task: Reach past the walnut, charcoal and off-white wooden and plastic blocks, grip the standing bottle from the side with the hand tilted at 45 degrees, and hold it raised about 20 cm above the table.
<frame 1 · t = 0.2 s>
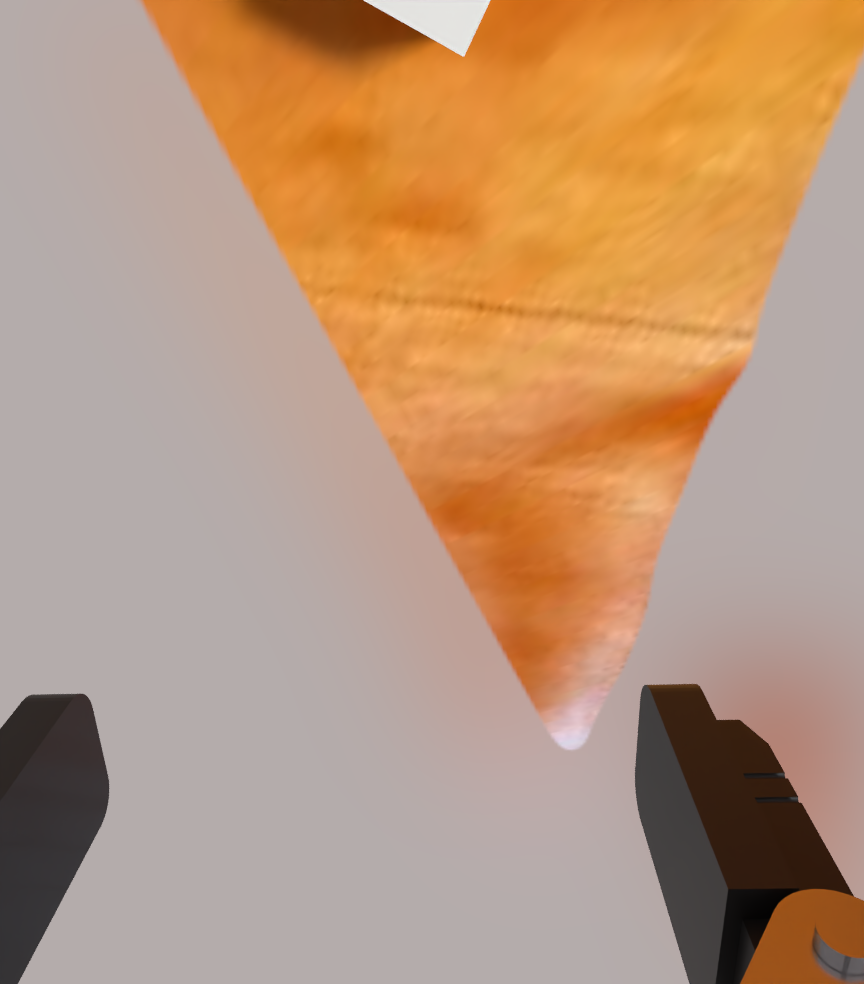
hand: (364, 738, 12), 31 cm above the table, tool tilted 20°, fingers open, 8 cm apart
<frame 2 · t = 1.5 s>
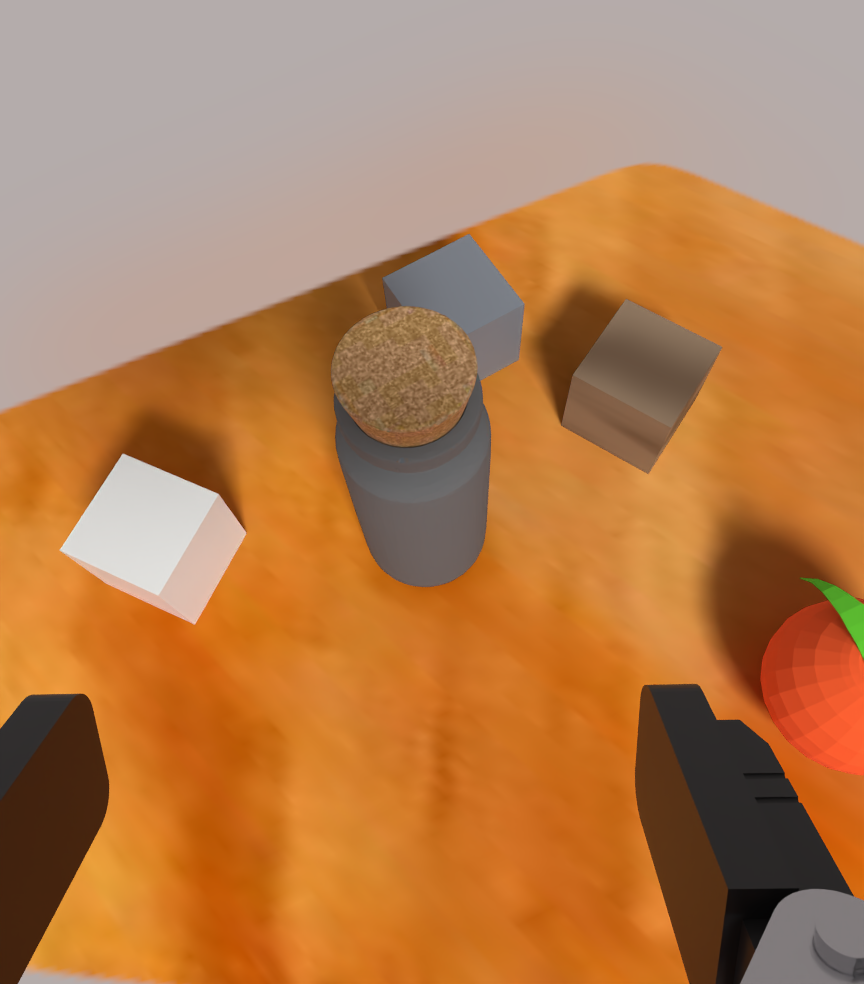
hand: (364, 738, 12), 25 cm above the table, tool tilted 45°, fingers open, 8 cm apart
offwhite block: (177, 558, 40), on the table
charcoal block: (454, 348, 44), on the table
bottle: (426, 532, 40), on the table
walnut block: (627, 413, 42), on the table
peach: (810, 687, 36), on the table
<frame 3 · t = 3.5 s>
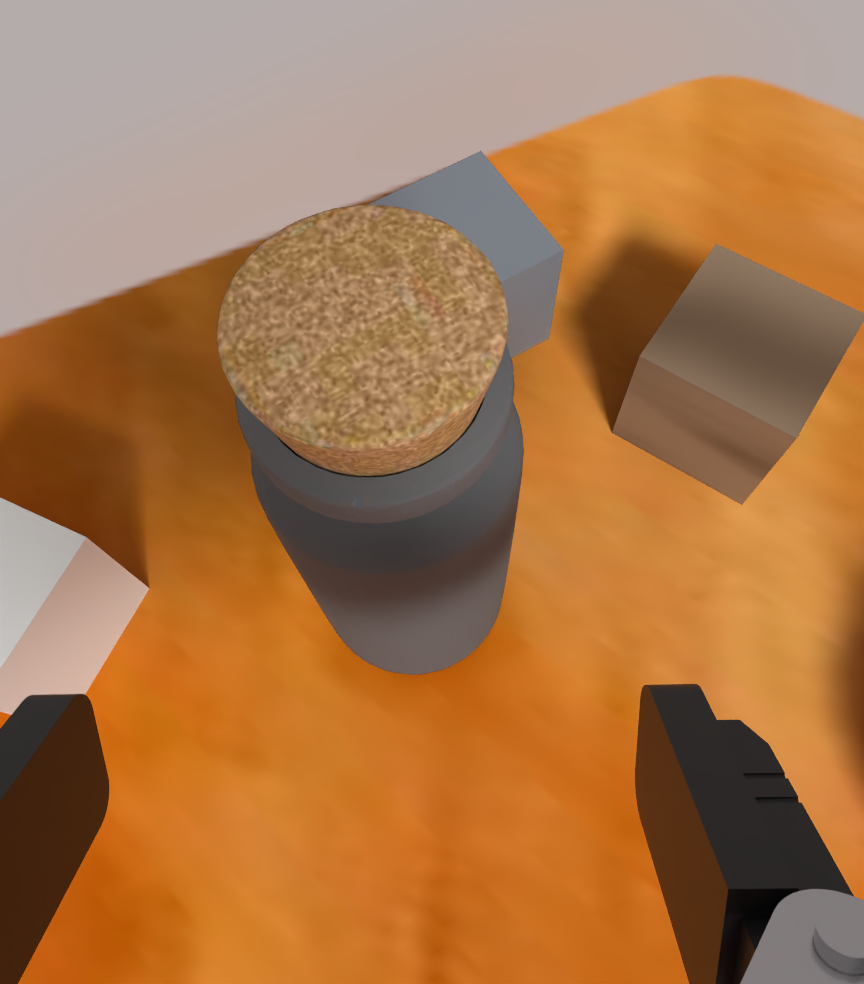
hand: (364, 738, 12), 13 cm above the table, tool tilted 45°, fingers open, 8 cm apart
offwhite block: (45, 626, 27), on the table
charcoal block: (457, 321, 31), on the table
bottle: (414, 589, 27), on the table
walnut block: (707, 415, 29), on the table
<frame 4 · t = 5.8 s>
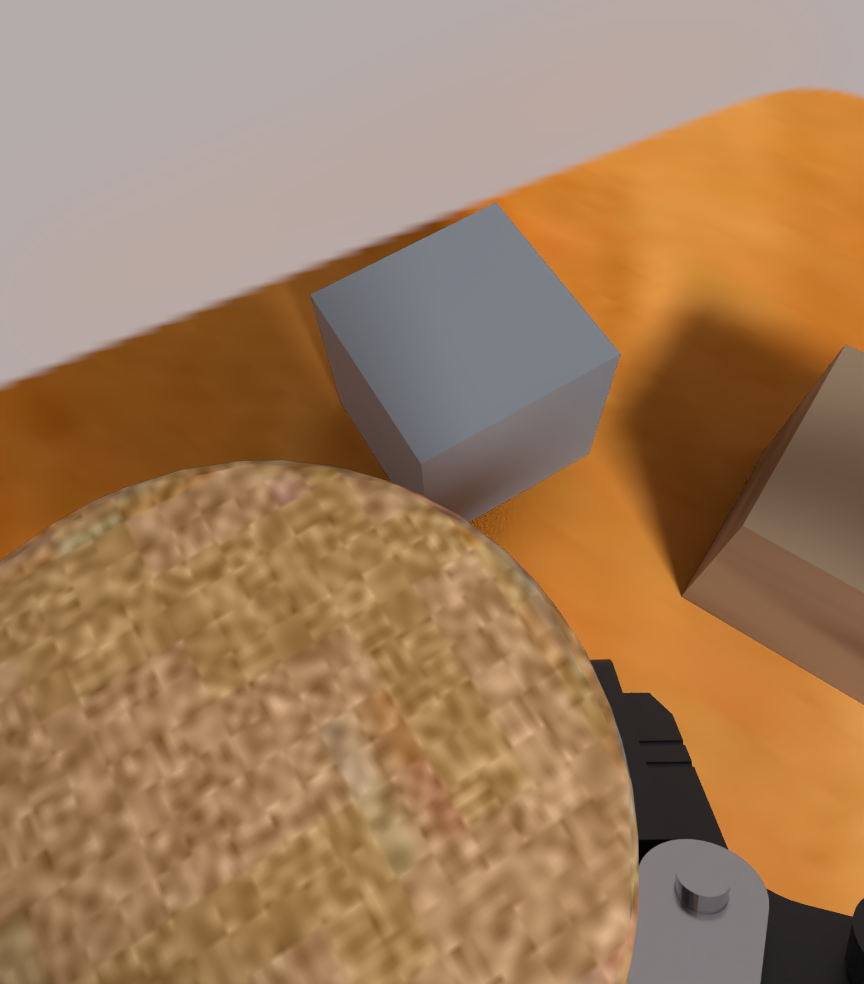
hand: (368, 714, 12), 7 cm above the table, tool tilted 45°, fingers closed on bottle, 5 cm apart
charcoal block: (462, 428, 23), on the table
bottle: (402, 840, 19), on the table, touching gripper
walnut block: (815, 570, 21), on the table
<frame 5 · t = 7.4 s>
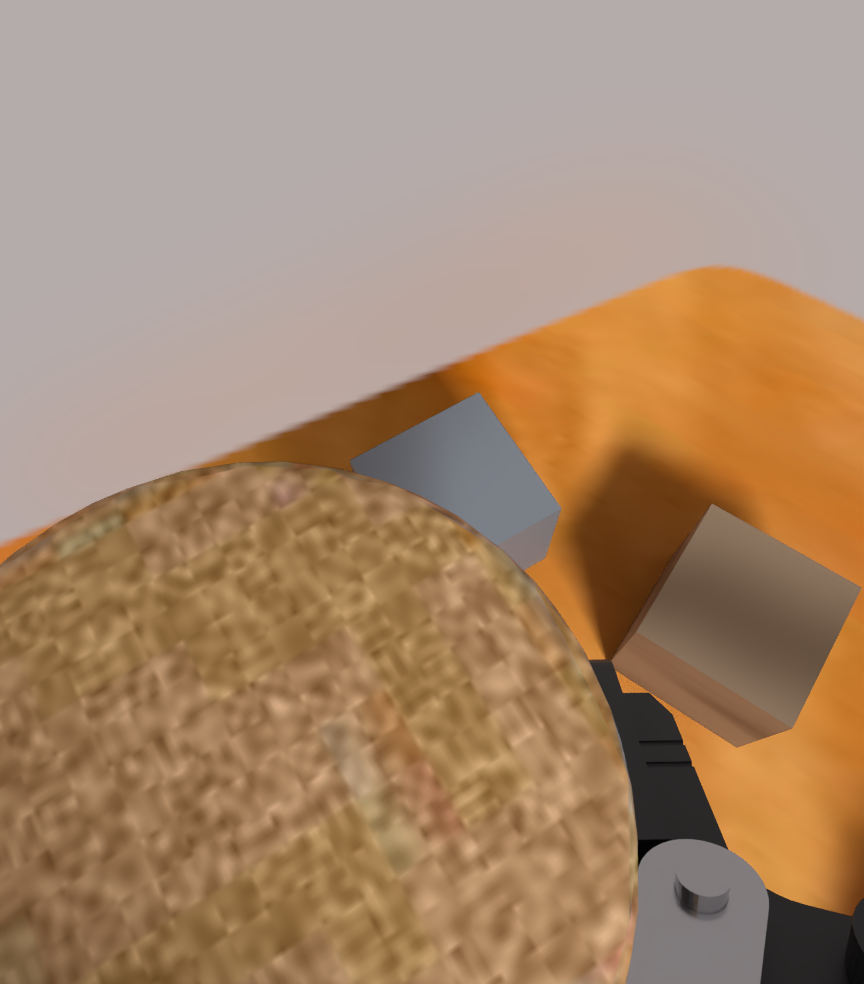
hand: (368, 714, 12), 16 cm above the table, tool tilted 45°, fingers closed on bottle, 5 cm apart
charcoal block: (453, 537, 31), on the table
bottle: (402, 840, 19), point 9 cm above the table, touching gripper
walnut block: (703, 646, 29), on the table
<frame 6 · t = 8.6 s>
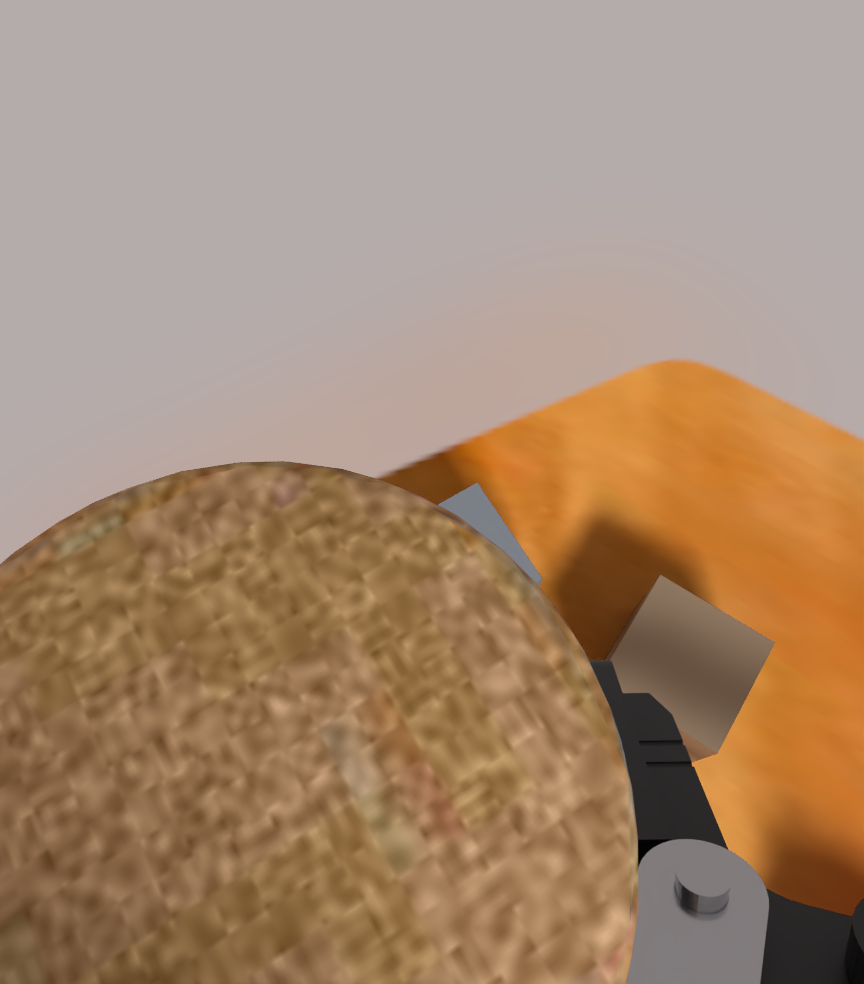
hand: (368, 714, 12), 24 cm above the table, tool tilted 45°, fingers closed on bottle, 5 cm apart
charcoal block: (457, 592, 38), on the table
bottle: (402, 840, 19), point 17 cm above the table, touching gripper
walnut block: (658, 683, 36), on the table
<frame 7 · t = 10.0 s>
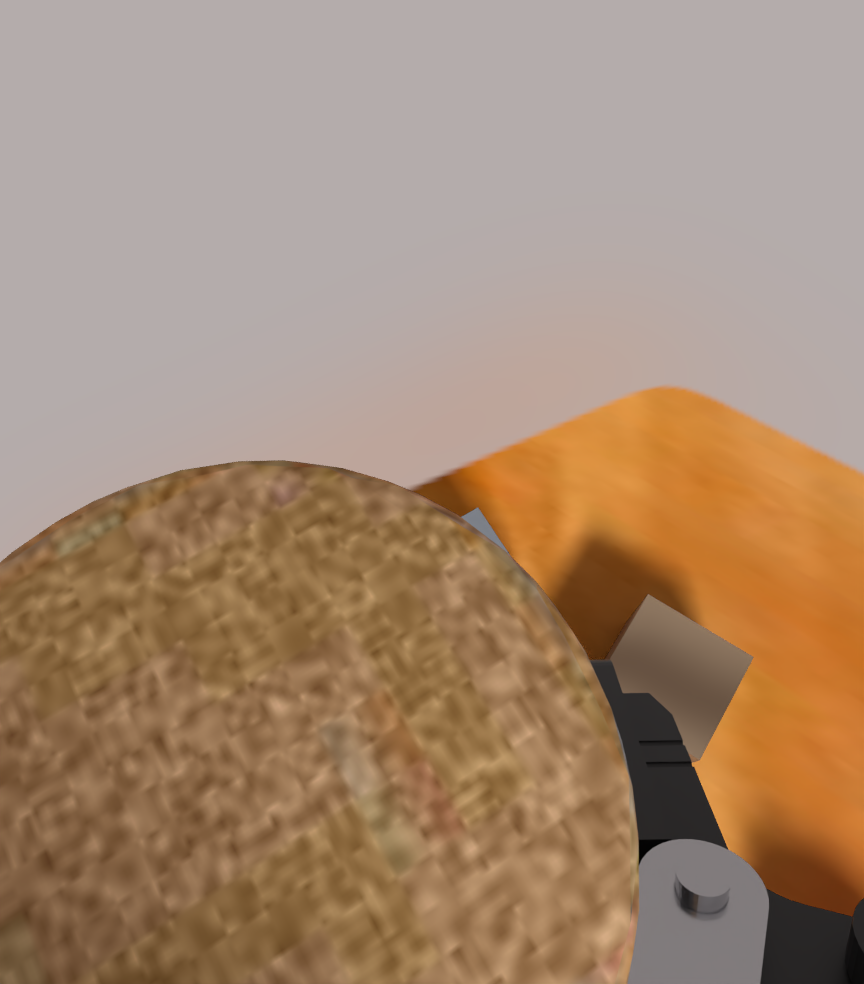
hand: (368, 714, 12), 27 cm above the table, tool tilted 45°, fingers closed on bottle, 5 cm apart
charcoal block: (460, 608, 41), on the table
bottle: (402, 840, 19), point 20 cm above the table, touching gripper
walnut block: (647, 693, 39), on the table
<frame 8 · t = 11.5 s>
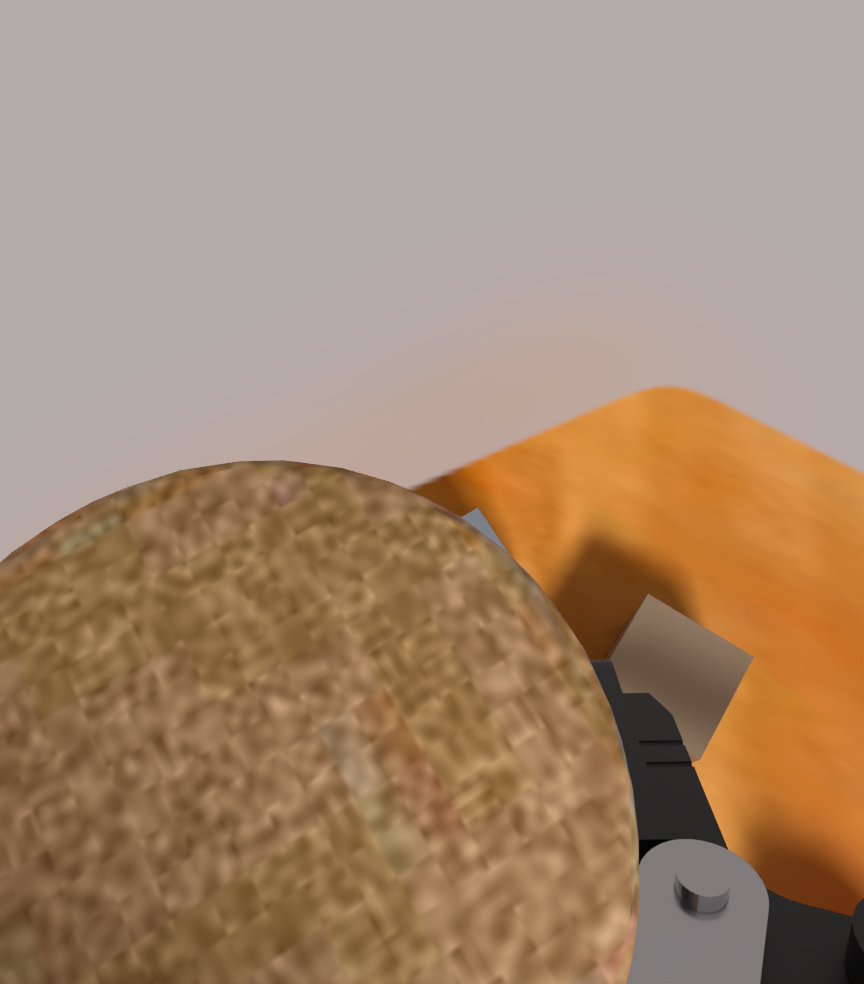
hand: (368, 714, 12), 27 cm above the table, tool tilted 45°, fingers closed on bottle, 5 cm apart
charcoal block: (460, 608, 41), on the table
bottle: (402, 840, 19), point 20 cm above the table, touching gripper
walnut block: (647, 693, 39), on the table
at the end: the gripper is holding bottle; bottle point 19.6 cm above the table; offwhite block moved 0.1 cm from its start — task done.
